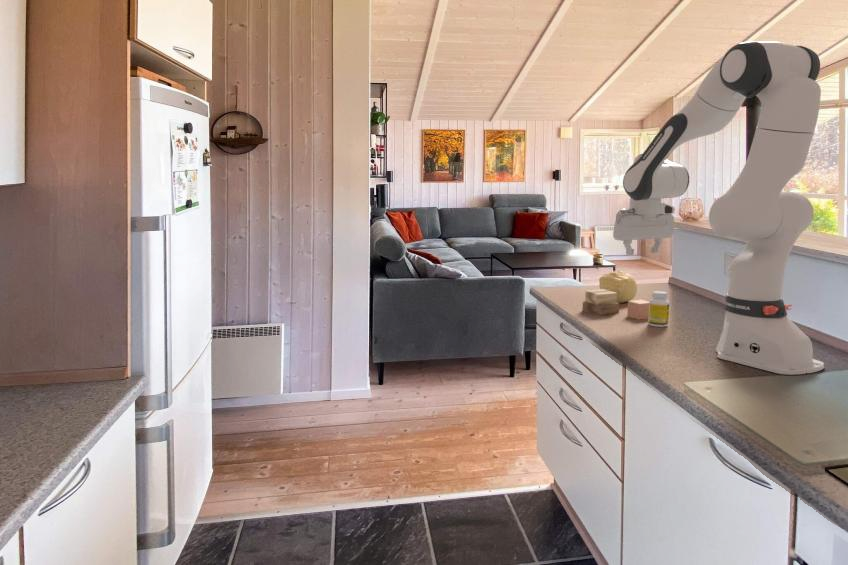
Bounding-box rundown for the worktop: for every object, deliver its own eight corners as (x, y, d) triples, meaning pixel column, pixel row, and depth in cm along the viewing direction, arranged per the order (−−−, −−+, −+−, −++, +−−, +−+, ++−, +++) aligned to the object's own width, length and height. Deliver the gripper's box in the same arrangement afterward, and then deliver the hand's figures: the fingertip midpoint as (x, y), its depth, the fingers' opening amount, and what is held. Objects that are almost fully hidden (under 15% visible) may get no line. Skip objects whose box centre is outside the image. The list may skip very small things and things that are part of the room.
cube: (651, 318, 176) (652, 302, 175) (638, 320, 174) (639, 304, 173) (640, 315, 180) (640, 299, 179) (627, 316, 179) (628, 300, 178)
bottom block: (618, 313, 184) (619, 303, 183) (601, 317, 180) (602, 306, 179) (599, 309, 191) (599, 298, 190) (582, 312, 186) (582, 301, 186)
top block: (616, 303, 182) (616, 293, 181) (596, 305, 180) (597, 294, 180) (604, 299, 189) (604, 289, 188) (585, 301, 187) (585, 290, 186)
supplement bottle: (669, 327, 164) (671, 294, 162) (649, 327, 165) (651, 293, 163) (665, 323, 169) (667, 290, 168) (646, 322, 170) (648, 290, 169)
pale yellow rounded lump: (593, 299, 204) (594, 270, 202) (619, 296, 208) (620, 267, 207) (616, 306, 193) (618, 274, 191) (643, 302, 198) (644, 271, 196)
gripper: (624, 209, 165) (621, 257, 167) (679, 207, 172) (675, 253, 174) (609, 208, 170) (607, 254, 173) (663, 206, 178) (660, 250, 180)
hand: (642, 253), depth 174 cm, fingers open, 8 cm apart
